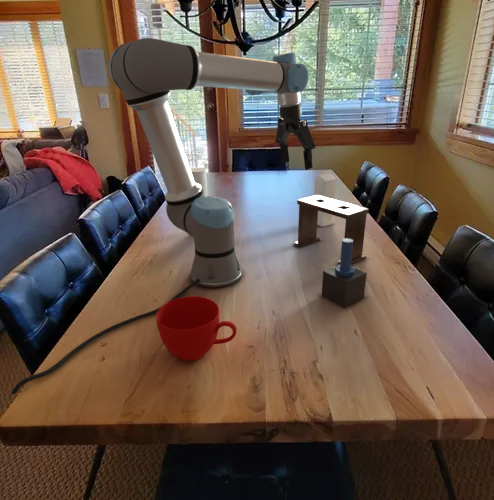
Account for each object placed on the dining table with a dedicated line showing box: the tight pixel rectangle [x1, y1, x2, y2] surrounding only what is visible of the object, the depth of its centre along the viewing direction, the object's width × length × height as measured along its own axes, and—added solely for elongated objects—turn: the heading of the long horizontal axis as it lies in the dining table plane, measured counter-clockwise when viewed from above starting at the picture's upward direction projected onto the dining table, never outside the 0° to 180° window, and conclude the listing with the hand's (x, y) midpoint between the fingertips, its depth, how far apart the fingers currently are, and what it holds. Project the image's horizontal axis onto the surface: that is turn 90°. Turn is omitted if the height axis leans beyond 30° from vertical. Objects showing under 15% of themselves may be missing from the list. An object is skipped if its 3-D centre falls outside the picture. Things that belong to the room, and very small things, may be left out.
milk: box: [313, 169, 337, 228], centre depth 151 cm, size 6×6×22 cm
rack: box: [293, 195, 370, 266], centre depth 126 cm, size 10×24×17 cm, turn 38°
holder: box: [321, 264, 368, 308], centre depth 100 cm, size 8×8×8 cm
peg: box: [335, 238, 356, 276], centre depth 98 cm, size 5×5×16 cm
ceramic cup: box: [155, 295, 238, 362], centre depth 79 cm, size 13×17×10 cm
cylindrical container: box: [190, 167, 208, 197], centre depth 142 cm, size 7×7×25 cm
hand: (297, 165), depth 136 cm, fingers open, 13 cm apart
